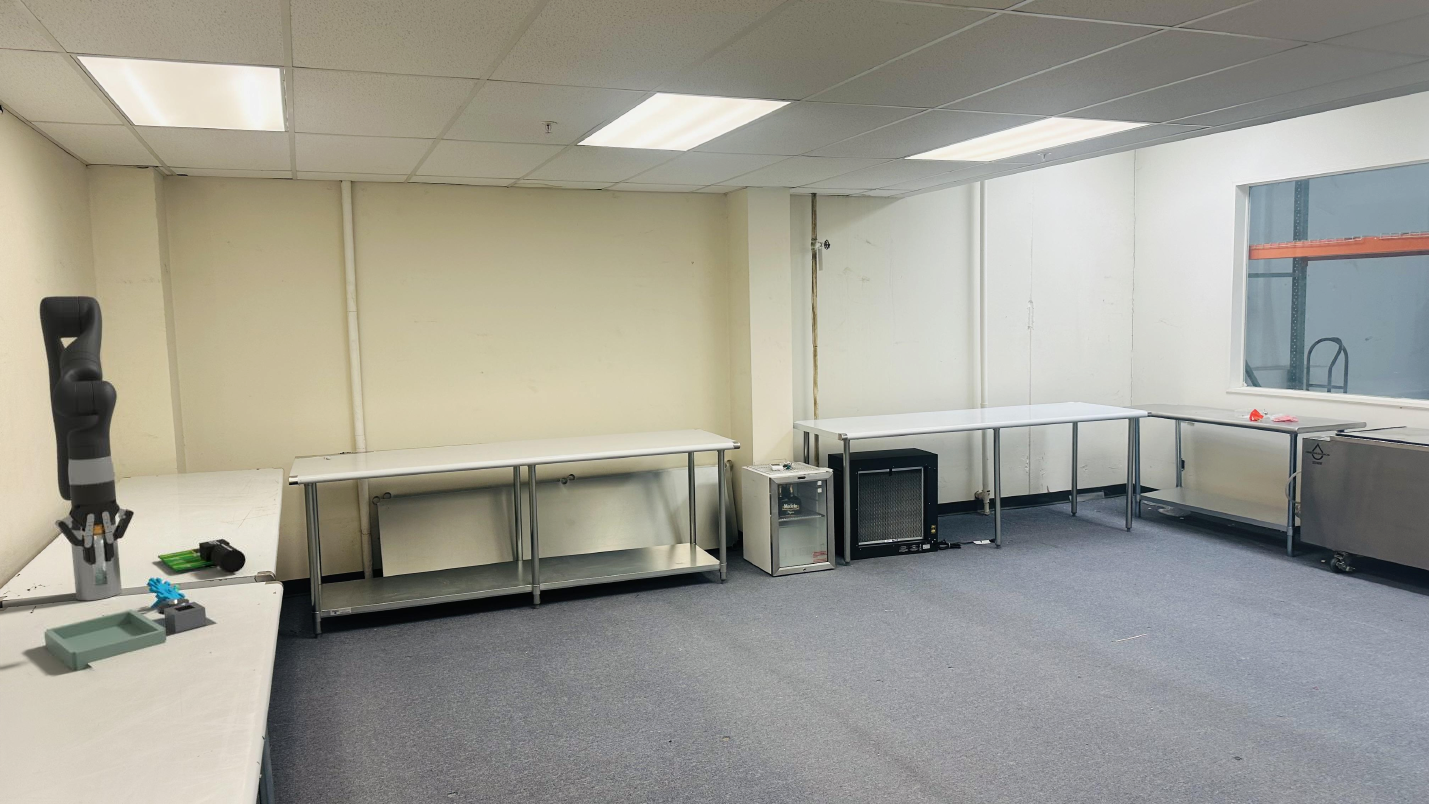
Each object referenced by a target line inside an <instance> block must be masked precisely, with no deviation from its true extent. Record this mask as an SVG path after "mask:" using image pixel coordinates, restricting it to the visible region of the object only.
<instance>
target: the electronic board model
mask: <svg viewBox="0 0 1429 804" xmlns="http://www.w3.org/2000/svg"><path fill="white" fill-rule="evenodd" d="M198 546H199V547H198V548H197V547H196V548H191V549H188V550H181V551H177V552H176V551H175V552H172V553H166V554H165V553H164V554H160V555H159V554H158V555H157V558H158V559H160V560H161V561H162V562H163V563H165V564H166V565H167V566H169V567H170V568H171V569H173V571H175V572H178V571H179V572H180V571H183V570H188V569H189V570H190V569H194V568H198V567H205V568H206V567H210V568H213V567H212V566H215V567H218V568H220V569H221V570H223V571H224V572H225V573H227V574H228V573H229V574H233V573H237V572H239V571H240V570H242V569H243V568H244V566H245V564H246V560H247V559H246V556H245V554H244V553H243V552H242V551H241V550H239V549H237V548H236V547H234V546H232V545H230V542H229V541H227V540H226V539H224V538H221V539H214V540H210V541H203V542H199V543H198Z"/></svg>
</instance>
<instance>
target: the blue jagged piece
mask: <svg viewBox="0 0 1429 804" xmlns="http://www.w3.org/2000/svg"><path fill="white" fill-rule="evenodd" d="M171 584H172V583H171V582H169V581H168V580H165V582H163V579H162V578H161V577H156V578H155V577H150V578H149V579H148V582H147V583H146V586H147V587H149V588H148V590H149V593H152V594H156V595H154V596H155V598H156V599H157V600H156V601H154V602H153V604H152V605H151V606H150V607H149V609H152V608H155V607H156V608H157V605H158V604H159V603H161V602H164V601H167V600H170V599H186V595H185V594H184V593H182V592H179V591H180V589H179V588H180V586H179V585H178V584H174V585H173V586H171Z"/></svg>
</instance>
